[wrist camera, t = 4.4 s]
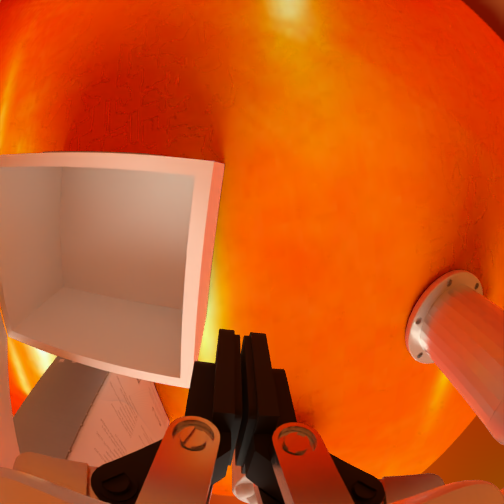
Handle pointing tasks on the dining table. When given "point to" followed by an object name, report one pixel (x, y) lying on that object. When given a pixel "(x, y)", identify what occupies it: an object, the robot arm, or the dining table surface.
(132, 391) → the hard drive box
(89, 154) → the carton
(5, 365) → the lid flap
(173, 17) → the dining table surface
